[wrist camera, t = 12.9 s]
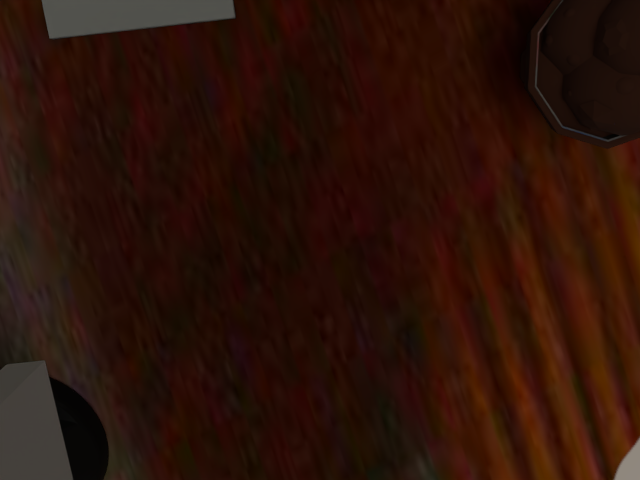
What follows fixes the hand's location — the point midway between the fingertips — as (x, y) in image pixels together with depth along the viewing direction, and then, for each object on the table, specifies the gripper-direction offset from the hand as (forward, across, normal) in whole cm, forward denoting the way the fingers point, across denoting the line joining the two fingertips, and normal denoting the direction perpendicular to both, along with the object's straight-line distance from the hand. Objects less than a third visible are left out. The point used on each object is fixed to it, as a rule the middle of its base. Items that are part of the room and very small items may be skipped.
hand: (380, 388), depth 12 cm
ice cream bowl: (+37, -18, -6) cm, 41 cm away
